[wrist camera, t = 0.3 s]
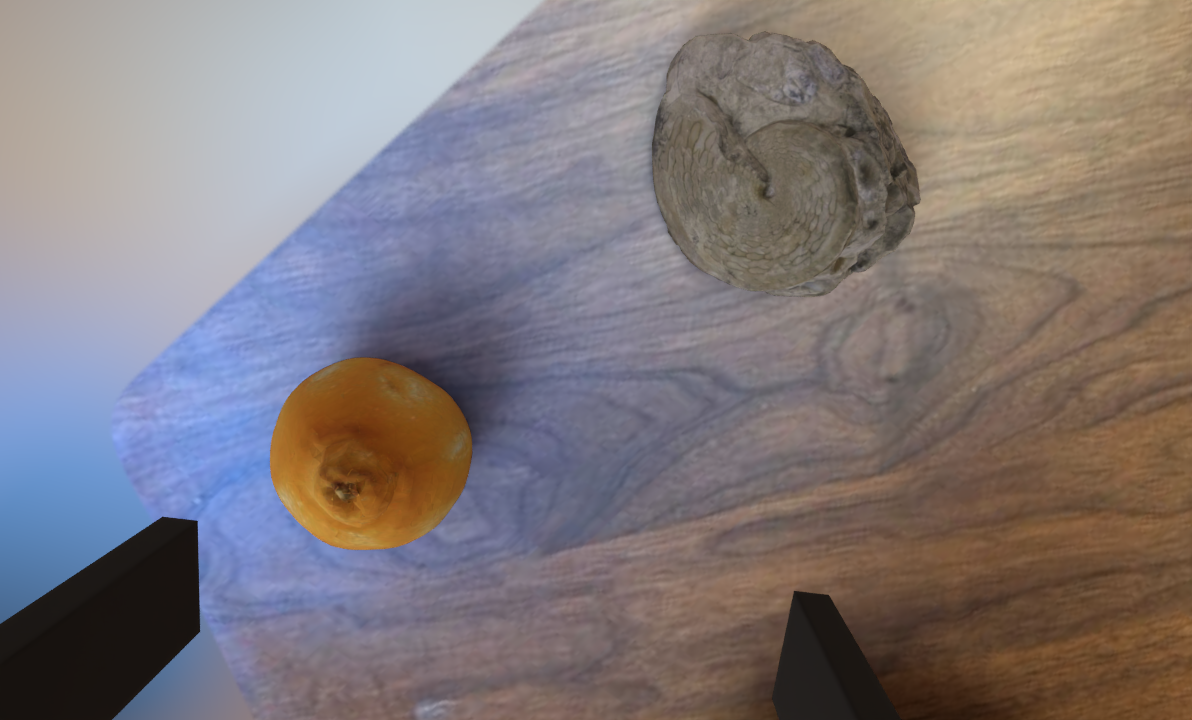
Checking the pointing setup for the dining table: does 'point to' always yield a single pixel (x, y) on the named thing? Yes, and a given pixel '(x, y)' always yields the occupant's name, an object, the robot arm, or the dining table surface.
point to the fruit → (369, 454)
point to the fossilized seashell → (778, 165)
